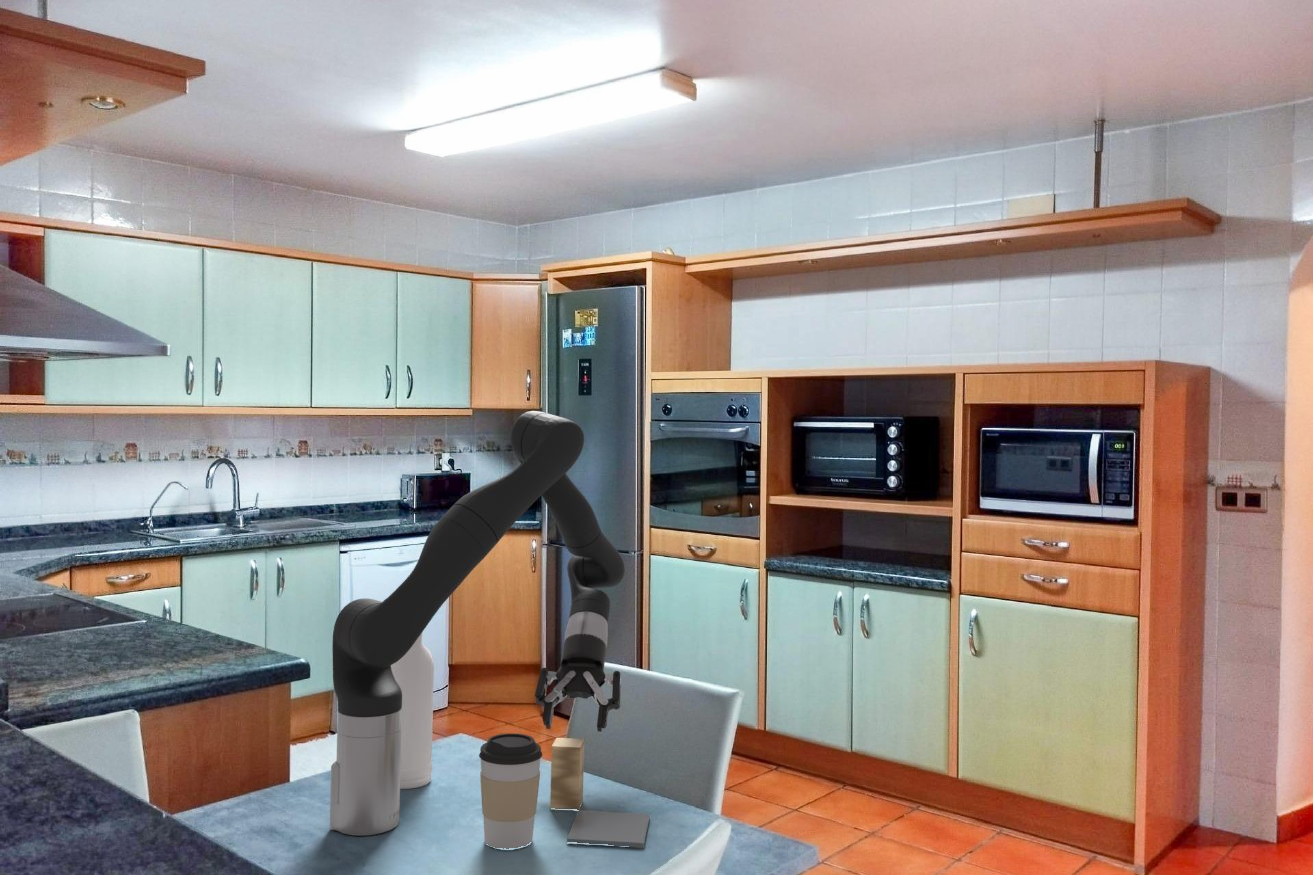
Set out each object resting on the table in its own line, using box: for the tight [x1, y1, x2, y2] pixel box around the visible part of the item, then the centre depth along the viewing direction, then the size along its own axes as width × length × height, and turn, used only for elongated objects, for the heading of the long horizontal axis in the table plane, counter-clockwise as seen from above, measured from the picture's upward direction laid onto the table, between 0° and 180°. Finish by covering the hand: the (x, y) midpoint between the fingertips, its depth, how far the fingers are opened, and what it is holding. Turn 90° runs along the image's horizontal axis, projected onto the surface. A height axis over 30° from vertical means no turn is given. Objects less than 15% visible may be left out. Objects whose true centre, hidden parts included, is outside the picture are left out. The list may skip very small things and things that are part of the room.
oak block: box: [549, 737, 585, 810], centre depth 161 cm, size 4×4×10 cm
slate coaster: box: [566, 809, 650, 849], centre depth 151 cm, size 11×11×1 cm
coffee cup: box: [478, 732, 543, 849], centre depth 147 cm, size 9×9×15 cm
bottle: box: [391, 632, 435, 790], centre depth 170 cm, size 8×8×30 cm
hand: (573, 727), depth 168 cm, fingers open, 8 cm apart
